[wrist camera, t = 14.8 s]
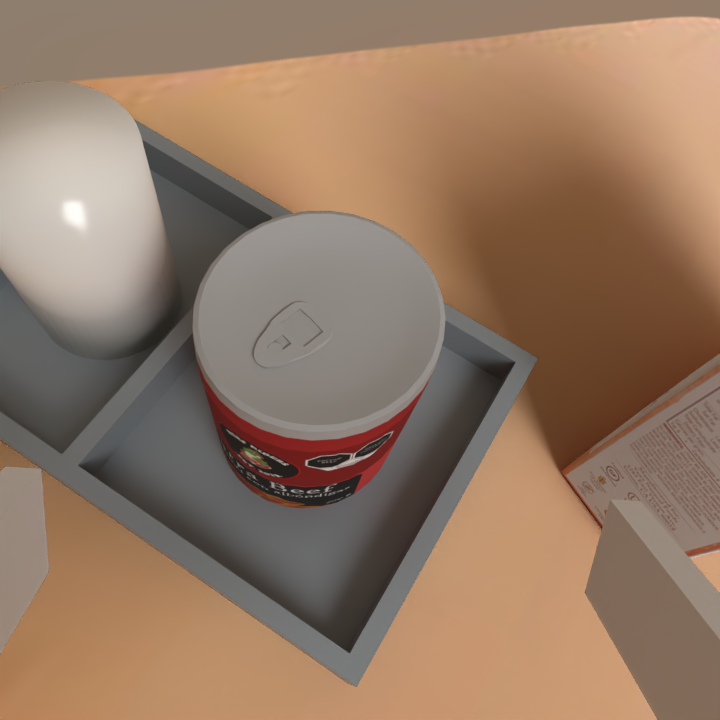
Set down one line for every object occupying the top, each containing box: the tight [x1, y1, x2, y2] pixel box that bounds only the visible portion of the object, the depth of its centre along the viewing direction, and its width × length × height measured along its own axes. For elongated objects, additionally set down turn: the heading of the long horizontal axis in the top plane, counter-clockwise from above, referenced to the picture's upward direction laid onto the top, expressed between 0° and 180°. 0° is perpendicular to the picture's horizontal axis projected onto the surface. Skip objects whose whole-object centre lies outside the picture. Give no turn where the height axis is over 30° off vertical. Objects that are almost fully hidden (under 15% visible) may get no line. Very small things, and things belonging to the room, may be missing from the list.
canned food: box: [192, 211, 446, 508], centre depth 24 cm, size 8×8×11 cm
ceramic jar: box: [0, 81, 182, 360], centre depth 27 cm, size 7×7×10 cm
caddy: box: [0, 119, 538, 687], centre depth 29 cm, size 24×16×3 cm, turn 58°
